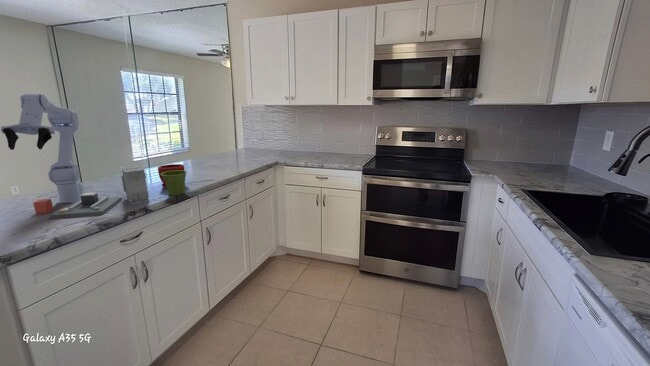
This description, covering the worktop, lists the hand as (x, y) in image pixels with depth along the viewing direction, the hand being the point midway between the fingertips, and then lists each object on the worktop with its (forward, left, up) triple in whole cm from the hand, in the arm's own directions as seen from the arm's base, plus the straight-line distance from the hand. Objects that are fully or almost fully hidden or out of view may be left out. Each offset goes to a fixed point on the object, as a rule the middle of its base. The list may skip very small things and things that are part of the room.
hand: (25, 148), depth 105 cm
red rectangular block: (-12, -6, -29) cm, 31 cm away
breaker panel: (-12, +10, -28) cm, 32 cm away
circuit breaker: (-23, +25, -29) cm, 44 cm away
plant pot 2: (-44, +37, -29) cm, 64 cm away
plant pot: (-27, +42, -29) cm, 58 cm away
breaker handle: (-14, +10, -27) cm, 32 cm away
